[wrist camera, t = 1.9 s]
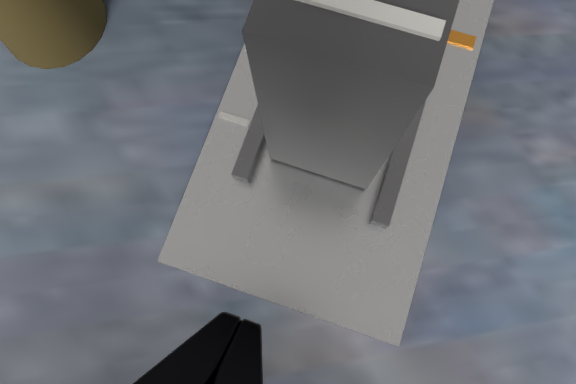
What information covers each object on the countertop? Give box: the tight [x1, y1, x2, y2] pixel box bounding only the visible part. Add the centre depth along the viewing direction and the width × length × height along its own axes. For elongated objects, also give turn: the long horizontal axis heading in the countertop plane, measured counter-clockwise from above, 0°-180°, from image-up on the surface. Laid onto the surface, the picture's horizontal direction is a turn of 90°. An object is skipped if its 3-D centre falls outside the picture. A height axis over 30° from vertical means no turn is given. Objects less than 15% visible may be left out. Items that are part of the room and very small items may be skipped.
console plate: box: [158, 0, 494, 347], centre depth 23 cm, size 20×12×2 cm, turn 162°
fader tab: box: [242, 0, 459, 189], centre depth 17 cm, size 3×5×11 cm, turn 72°
